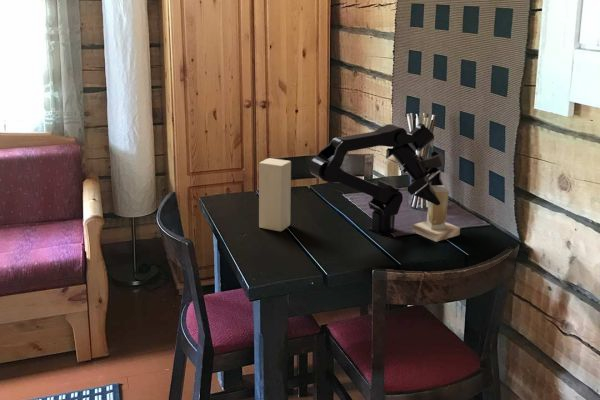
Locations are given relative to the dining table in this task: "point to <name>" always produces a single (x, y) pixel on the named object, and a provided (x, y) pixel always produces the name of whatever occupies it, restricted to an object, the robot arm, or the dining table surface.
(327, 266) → the dining table surface
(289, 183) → the beige tall rectangular block
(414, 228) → the birch block
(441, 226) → the skincare box
